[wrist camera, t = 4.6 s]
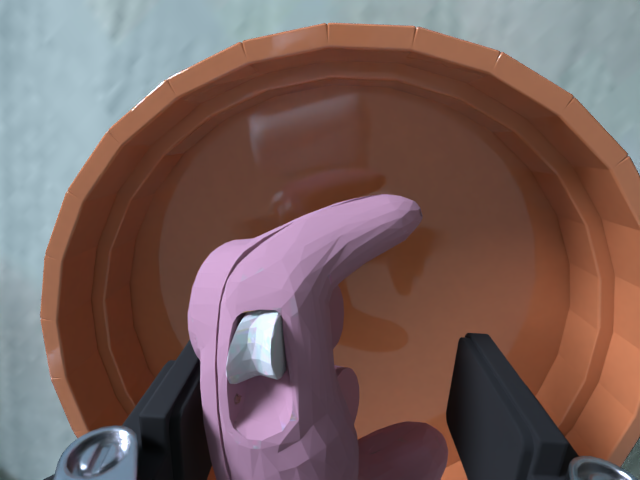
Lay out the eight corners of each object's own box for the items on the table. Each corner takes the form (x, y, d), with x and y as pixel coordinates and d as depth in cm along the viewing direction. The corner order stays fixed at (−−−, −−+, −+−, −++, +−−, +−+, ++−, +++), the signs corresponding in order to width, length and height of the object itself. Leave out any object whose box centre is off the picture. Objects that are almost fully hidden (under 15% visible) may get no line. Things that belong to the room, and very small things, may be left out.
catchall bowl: (84, 44, 14) (-16, 8, 10) (651, 67, 13) (784, 39, 9) (133, 480, 19) (82, 567, 15) (534, 510, 18) (586, 609, 15)
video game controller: (295, 191, 13) (104, 275, 7) (428, 178, 11) (303, 285, 5) (342, 421, 16) (231, 612, 10) (455, 450, 13) (396, 721, 8)
